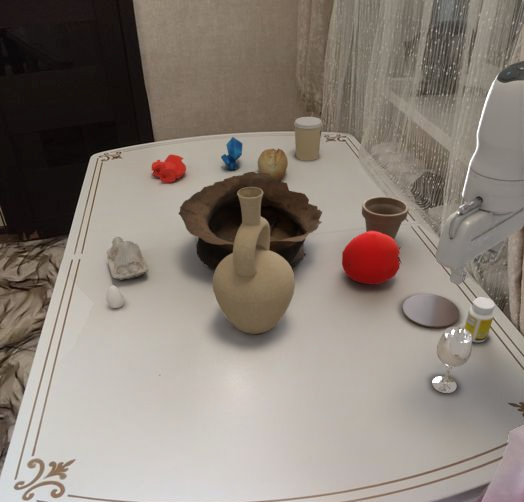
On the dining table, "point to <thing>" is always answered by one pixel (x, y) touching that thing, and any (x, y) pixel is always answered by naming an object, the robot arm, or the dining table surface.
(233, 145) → the crystal
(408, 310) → the coaster
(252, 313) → the vase
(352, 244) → the red ball
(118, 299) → the egg
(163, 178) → the animal figurine
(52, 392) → the dining table surface
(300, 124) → the coffee cup
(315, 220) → the bowl
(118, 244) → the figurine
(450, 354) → the wineglass
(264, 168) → the bread roll
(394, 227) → the flower pot
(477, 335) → the supplement bottle
